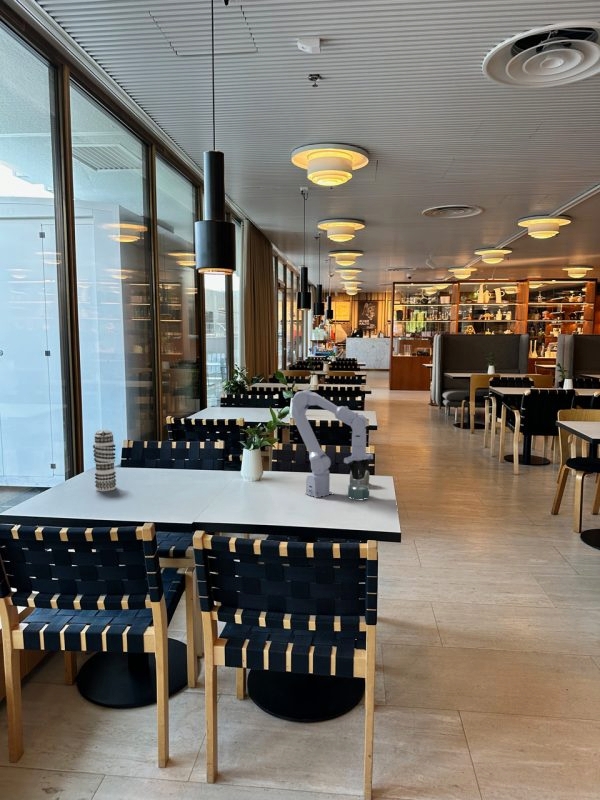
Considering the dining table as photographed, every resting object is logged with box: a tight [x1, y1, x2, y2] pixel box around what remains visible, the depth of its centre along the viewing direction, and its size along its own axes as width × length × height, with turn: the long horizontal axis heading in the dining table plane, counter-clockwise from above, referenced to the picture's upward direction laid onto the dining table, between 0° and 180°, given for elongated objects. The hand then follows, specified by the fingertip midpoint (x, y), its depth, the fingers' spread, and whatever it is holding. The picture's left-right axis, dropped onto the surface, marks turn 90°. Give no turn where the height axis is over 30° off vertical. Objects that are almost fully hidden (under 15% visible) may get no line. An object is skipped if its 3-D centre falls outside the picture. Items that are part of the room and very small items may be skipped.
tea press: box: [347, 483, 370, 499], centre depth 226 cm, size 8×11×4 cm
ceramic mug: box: [349, 469, 370, 487], centre depth 246 cm, size 11×8×8 cm
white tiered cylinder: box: [92, 429, 117, 492], centre depth 238 cm, size 9×9×25 cm
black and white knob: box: [351, 473, 365, 489], centre depth 226 cm, size 6×6×6 cm
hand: (358, 478), depth 226 cm, fingers closed on black and white knob, 3 cm apart
